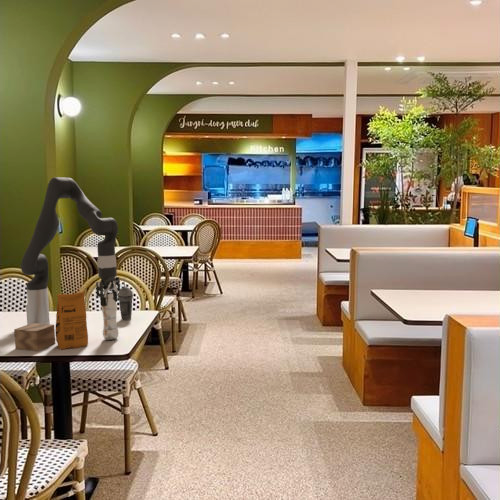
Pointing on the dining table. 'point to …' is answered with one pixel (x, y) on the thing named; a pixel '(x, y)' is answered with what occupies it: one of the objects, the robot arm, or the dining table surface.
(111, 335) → the plastic bottle
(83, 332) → the coffee package
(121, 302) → the beverage cup
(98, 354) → the dining table surface
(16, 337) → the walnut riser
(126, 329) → the dining table surface
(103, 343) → the dining table surface
